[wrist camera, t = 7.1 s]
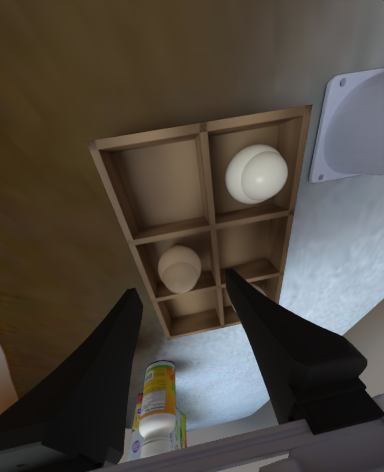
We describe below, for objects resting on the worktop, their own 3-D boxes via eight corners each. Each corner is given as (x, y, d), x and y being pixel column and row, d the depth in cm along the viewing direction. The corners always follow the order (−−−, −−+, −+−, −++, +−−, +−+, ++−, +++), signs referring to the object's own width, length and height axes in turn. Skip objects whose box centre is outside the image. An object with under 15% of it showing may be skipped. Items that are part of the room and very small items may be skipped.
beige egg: (194, 233, 15) (203, 262, 11) (199, 265, 17) (209, 300, 13) (155, 241, 15) (148, 273, 11) (164, 272, 17) (162, 310, 13)
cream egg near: (263, 144, 12) (315, 131, 8) (261, 193, 14) (301, 206, 10) (216, 152, 12) (241, 144, 8) (219, 201, 14) (241, 217, 10)
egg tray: (279, 119, 12) (312, 104, 9) (262, 295, 22) (276, 315, 19) (107, 147, 12) (86, 141, 9) (168, 316, 22) (167, 339, 19)
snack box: (134, 394, 31) (106, 567, 18) (159, 387, 31) (149, 555, 18) (167, 421, 41) (165, 548, 27) (186, 416, 41) (193, 540, 27)
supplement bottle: (175, 372, 29) (176, 460, 20) (148, 376, 28) (137, 468, 20) (174, 358, 27) (175, 450, 18) (144, 362, 26) (130, 459, 17)
